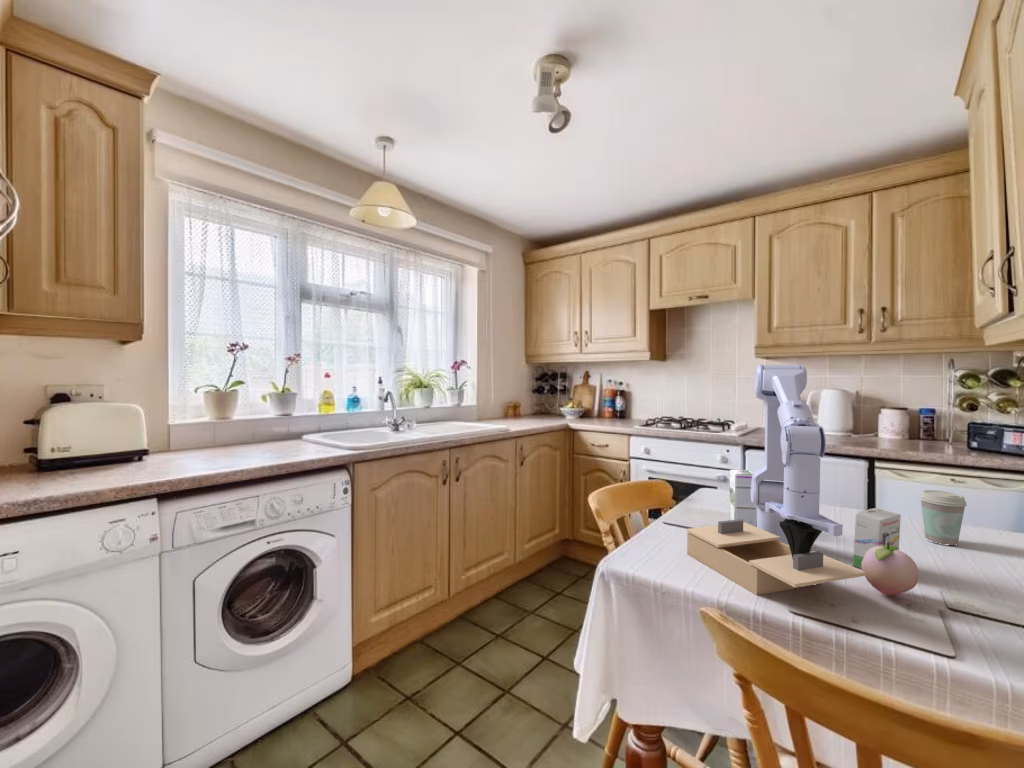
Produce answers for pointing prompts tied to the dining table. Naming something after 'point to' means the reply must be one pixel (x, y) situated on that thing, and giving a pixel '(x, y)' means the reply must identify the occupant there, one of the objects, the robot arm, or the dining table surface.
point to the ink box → (874, 531)
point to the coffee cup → (942, 515)
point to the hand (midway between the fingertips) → (799, 560)
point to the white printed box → (742, 497)
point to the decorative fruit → (890, 570)
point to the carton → (741, 562)
